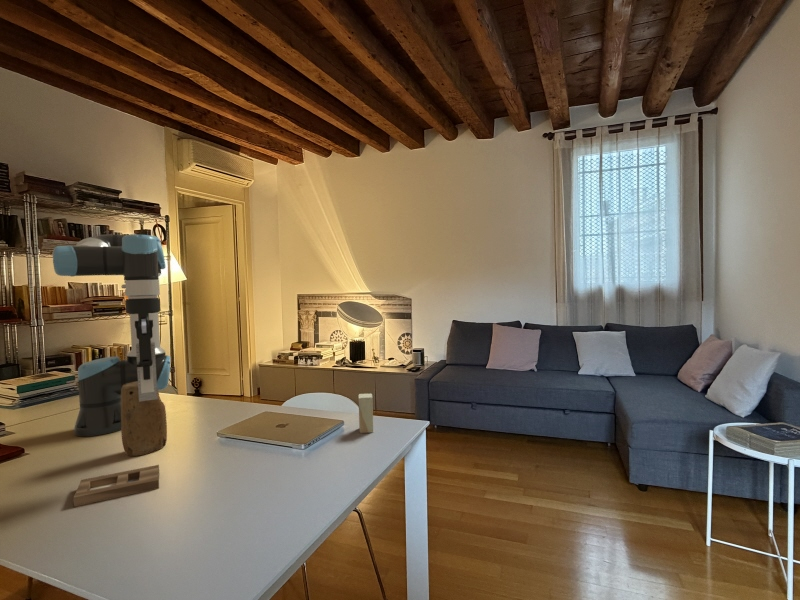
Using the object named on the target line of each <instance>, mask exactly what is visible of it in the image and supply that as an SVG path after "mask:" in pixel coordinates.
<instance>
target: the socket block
mask: <svg viewBox="0 0 800 600" xmlns="http://www.w3.org/2000/svg"><path fill="white" fill-rule="evenodd" d="M159 488H160V465H159V464H156V465H150V466H145V467H139V468H135V469H131V470H129V469H128V470H124V471H120V472H113V473H110V474H109V473H108V474H104V475H100V476H93V477H89V478H83V479H81V480H80V482H79V484H78V486H77V489H76V491H75V493H74V496H73V506H74V507H73V508H75V507H79V506H83V505H89V504H92V503H97V502H101V501H106V500H110V499H115V498H120V497H124V496H130V495H134V494H138V493H142V492H148V491H152V490H157V489H159Z"/></svg>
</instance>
